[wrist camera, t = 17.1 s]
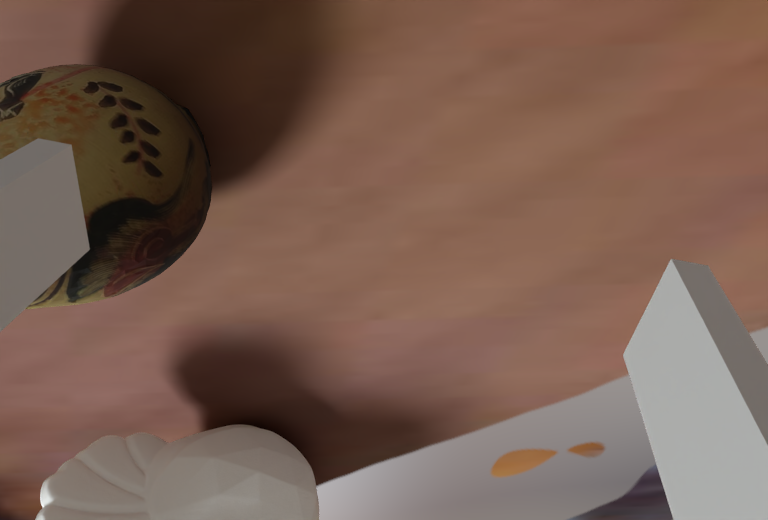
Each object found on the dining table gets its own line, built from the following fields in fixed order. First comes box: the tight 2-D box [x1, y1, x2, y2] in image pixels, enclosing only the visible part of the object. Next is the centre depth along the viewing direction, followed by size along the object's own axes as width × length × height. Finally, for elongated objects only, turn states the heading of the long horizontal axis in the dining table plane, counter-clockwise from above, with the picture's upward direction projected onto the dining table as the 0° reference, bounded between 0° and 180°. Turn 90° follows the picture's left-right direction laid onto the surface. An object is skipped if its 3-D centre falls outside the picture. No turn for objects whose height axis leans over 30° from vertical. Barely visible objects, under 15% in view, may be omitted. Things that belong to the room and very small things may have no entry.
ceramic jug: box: [0, 64, 212, 309], centre depth 34 cm, size 17×15×30 cm
